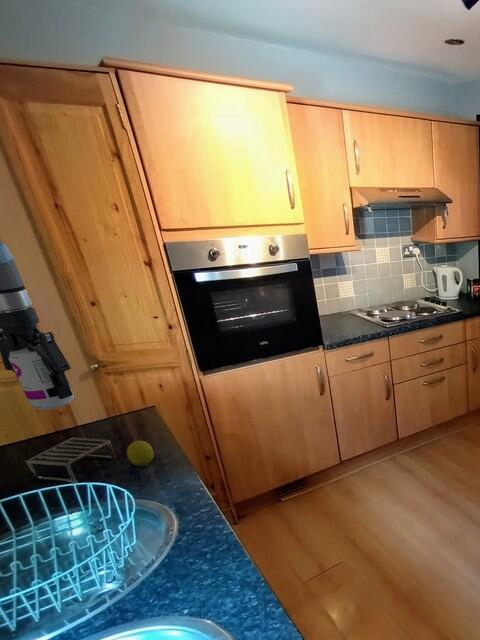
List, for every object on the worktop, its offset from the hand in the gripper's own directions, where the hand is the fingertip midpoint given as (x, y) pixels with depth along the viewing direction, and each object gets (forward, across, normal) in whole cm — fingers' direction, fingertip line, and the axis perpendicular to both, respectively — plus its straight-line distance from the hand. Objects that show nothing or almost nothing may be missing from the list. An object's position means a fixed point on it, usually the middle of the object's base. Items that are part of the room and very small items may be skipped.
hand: (50, 395), depth 116 cm
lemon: (+22, -16, -3) cm, 28 cm away
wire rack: (+22, -1, +2) cm, 22 cm away
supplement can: (+2, 0, 0) cm, 2 cm away
